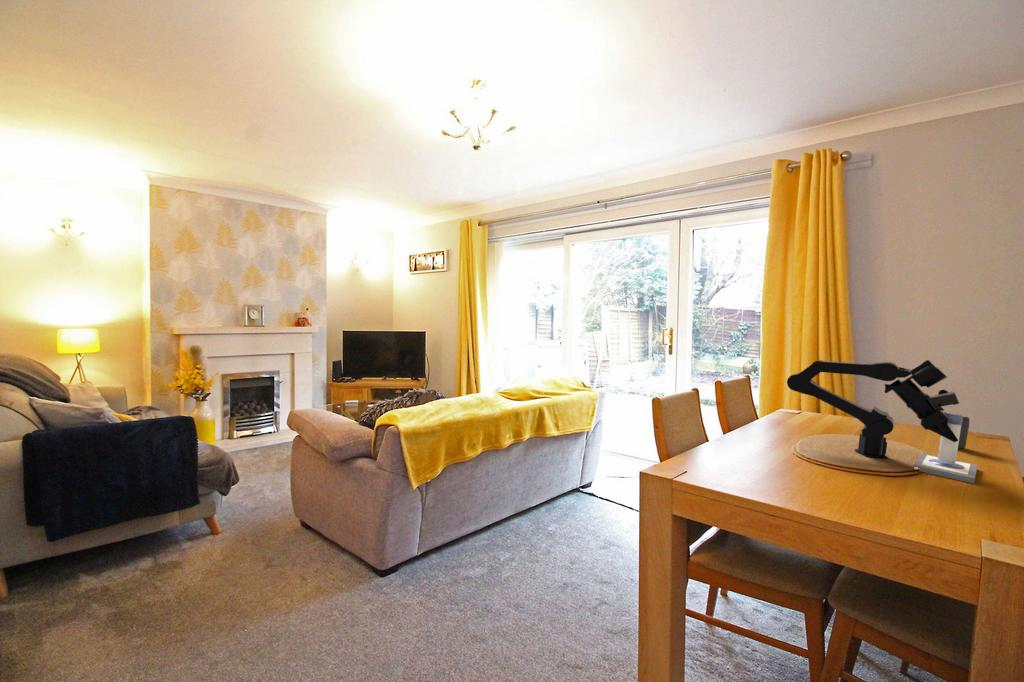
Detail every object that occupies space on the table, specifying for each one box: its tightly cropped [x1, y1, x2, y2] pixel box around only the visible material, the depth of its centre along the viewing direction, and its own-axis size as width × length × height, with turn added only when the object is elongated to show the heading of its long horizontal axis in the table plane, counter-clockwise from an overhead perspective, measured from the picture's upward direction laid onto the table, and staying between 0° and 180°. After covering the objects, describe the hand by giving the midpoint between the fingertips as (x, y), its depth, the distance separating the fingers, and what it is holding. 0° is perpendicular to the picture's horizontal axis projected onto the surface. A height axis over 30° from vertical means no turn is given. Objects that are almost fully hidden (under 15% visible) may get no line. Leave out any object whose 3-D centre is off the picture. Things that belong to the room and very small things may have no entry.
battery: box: [958, 415, 970, 449], centre depth 168 cm, size 7×4×11 cm, turn 105°
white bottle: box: [937, 412, 964, 463], centre depth 142 cm, size 4×4×14 cm
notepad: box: [913, 452, 978, 485], centre depth 143 cm, size 18×13×2 cm
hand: (955, 439), depth 142 cm, fingers closed on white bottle, 4 cm apart
